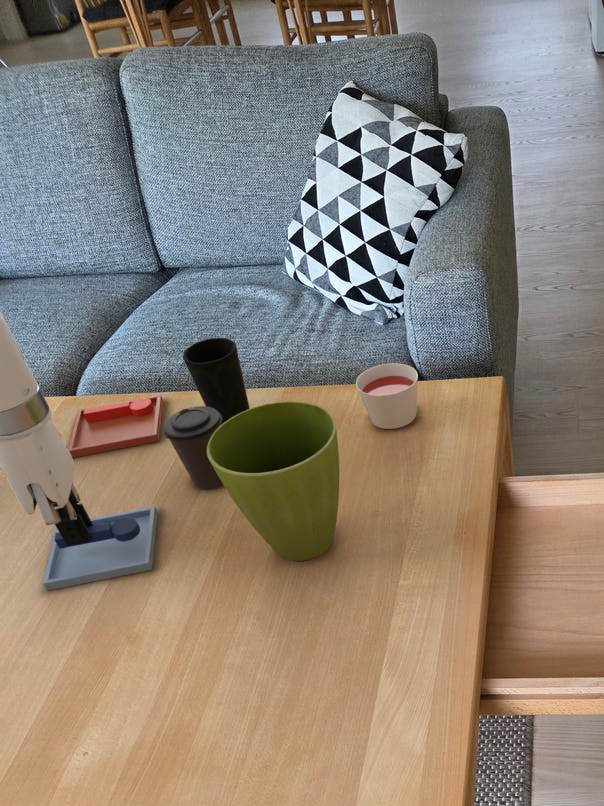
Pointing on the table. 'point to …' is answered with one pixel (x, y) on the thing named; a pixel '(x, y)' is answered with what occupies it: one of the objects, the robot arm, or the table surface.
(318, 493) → the flower pot
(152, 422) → the red tray
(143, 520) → the blue tray
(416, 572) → the table surface
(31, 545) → the table surface
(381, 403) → the candle
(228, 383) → the cup
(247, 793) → the table surface
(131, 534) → the blue spoon
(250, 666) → the table surface
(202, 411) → the coffee cup
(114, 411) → the red spoon
